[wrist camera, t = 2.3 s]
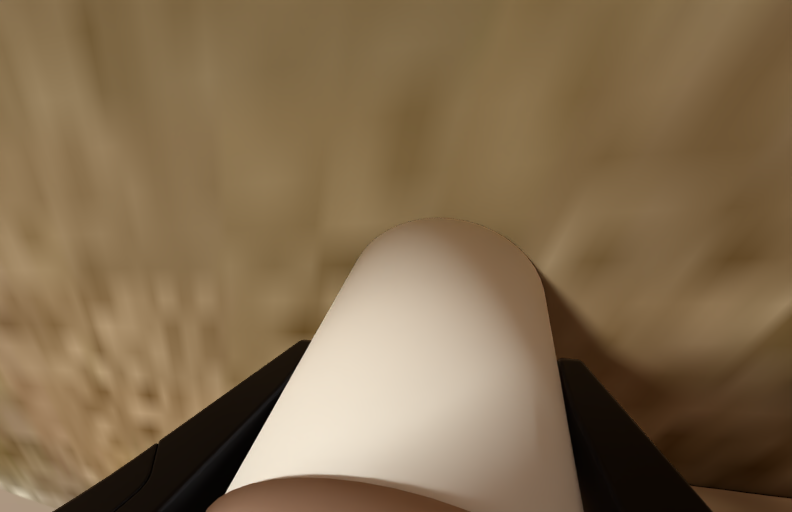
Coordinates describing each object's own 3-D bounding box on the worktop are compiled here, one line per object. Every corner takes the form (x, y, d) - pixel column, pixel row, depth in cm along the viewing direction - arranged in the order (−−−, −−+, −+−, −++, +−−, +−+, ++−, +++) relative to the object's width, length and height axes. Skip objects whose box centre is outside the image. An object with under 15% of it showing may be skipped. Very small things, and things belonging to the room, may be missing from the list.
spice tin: (560, 213, 9) (709, 658, 3) (541, 388, 11) (595, 817, 5) (330, 213, 10) (73, 524, 4) (360, 372, 12) (232, 707, 6)
